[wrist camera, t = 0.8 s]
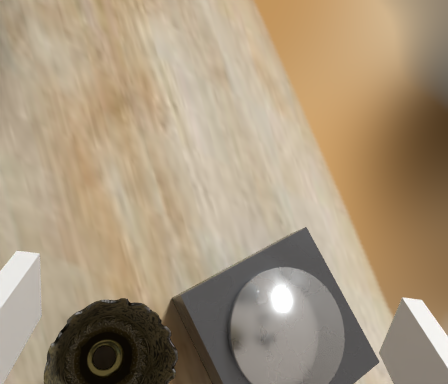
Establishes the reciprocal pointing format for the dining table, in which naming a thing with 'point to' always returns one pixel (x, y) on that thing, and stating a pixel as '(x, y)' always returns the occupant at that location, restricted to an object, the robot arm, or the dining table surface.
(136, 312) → the cup
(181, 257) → the dining table surface
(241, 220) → the dining table surface
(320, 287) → the kitchen scale
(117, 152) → the dining table surface
